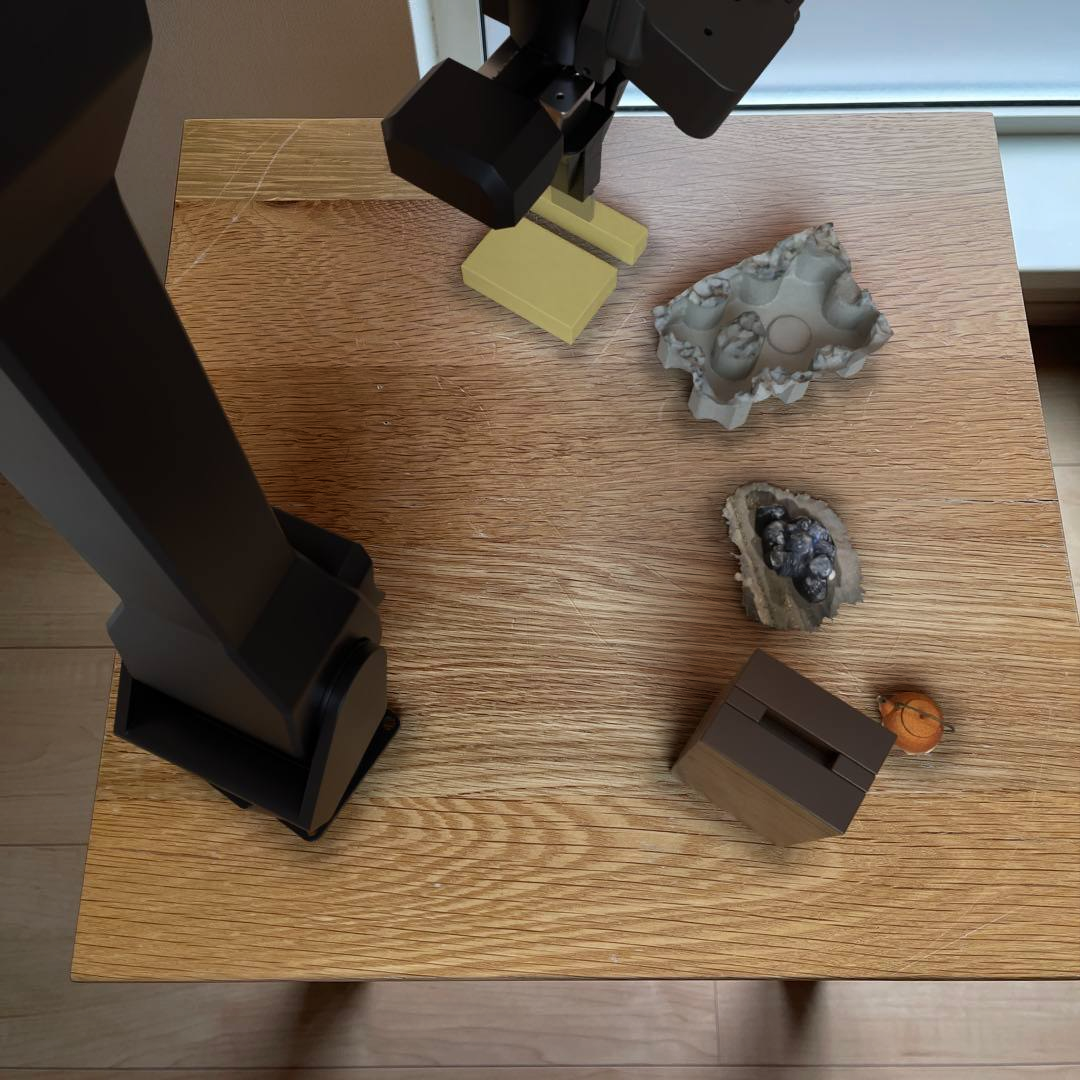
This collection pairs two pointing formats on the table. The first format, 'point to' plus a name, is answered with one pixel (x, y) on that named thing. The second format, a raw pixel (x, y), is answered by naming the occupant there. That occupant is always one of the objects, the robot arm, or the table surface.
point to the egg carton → (770, 326)
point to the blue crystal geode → (791, 557)
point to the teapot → (913, 721)
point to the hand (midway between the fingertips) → (571, 175)
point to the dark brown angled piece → (585, 172)
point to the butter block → (540, 277)
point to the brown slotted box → (783, 754)
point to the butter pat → (598, 228)
